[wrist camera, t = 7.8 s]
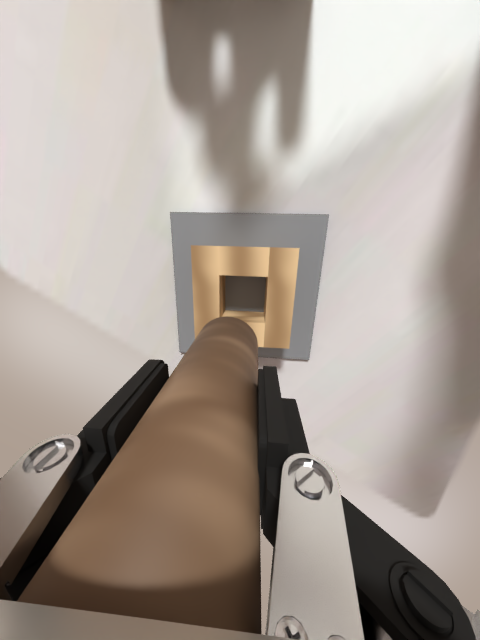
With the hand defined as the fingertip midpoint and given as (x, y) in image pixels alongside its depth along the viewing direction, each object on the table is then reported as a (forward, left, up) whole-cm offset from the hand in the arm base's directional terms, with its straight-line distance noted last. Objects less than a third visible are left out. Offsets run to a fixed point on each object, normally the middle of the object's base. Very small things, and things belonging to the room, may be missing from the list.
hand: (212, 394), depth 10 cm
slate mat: (0, 0, -23) cm, 23 cm away
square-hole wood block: (0, 0, -22) cm, 22 cm away
